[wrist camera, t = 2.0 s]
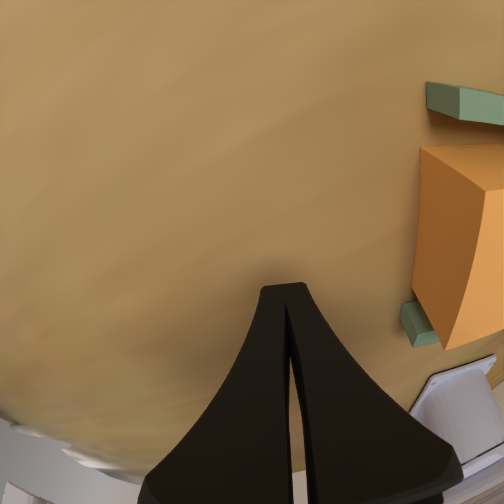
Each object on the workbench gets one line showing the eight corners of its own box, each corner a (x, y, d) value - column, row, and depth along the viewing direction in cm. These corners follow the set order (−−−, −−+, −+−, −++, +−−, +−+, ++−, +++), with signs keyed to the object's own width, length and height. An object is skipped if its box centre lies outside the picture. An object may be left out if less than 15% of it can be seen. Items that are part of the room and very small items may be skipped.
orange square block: (506, 259, 15) (546, 308, 10) (410, 284, 16) (444, 351, 11) (526, 142, 10) (587, 179, 6) (417, 146, 11) (485, 191, 7)
